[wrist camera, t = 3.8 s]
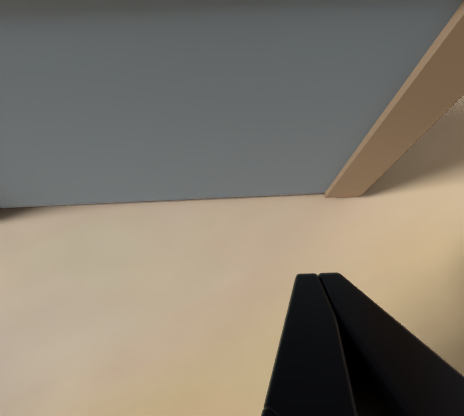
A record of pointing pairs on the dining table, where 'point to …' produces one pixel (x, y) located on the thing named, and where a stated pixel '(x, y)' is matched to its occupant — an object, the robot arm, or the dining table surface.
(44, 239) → the dining table surface
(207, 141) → the gate
